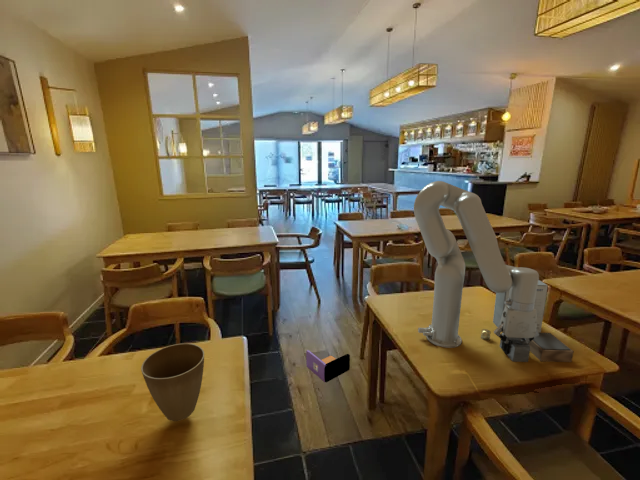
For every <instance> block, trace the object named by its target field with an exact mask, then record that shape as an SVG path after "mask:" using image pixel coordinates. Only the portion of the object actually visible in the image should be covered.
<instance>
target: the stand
mask: <svg viewBox="0 0 640 480" xmlns="http://www.w3.org/2000/svg"><path fill="white" fill-rule="evenodd" d="M538 333H539V336H537V337H535V338H534V339H533V340H532V341H530V344H529V345H530V352H531V353H532V354H533V355H534V357H536V358H537V359H538V361H540V362H557V363H558V362H559V363H562V362H564V363H572V362H573V361H572V360H573V357H574V356H573V355H574V350H573V349H571V348H570V347H569V346H567V345H566V344H565V343H564V342H562V341H561V340H560V339H558V338H557V337H556V336H555V335H553V333H551V332H538Z"/></svg>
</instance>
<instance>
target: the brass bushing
mask: <svg viewBox="0 0 640 480" xmlns="http://www.w3.org/2000/svg"><path fill="white" fill-rule="evenodd" d="M491 333H492V332H491V331H490V330H489V329H485V328H483V329H481V334H480V339H482V340H483V341H490V340H491Z"/></svg>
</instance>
